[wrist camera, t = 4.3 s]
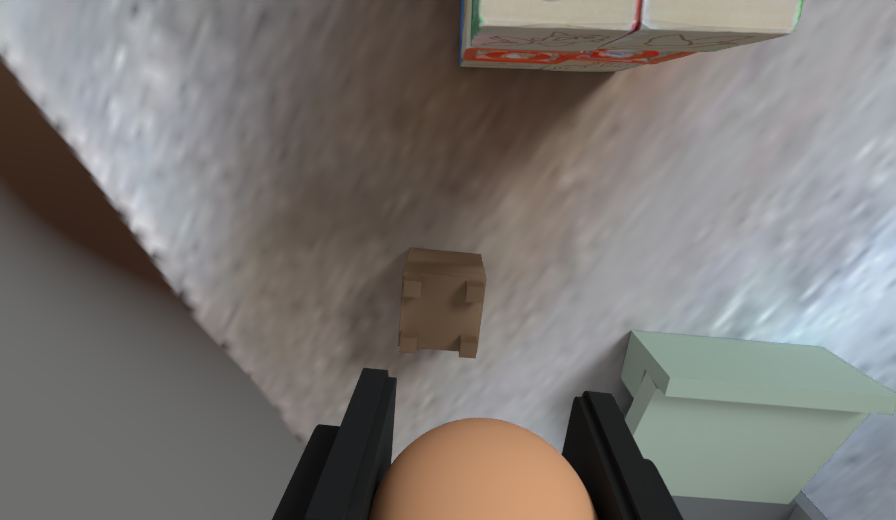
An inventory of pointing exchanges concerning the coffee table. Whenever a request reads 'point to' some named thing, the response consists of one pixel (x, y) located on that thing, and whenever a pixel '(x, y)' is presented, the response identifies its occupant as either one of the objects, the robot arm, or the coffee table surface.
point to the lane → (746, 509)
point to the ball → (481, 477)
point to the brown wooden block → (441, 301)
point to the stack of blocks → (612, 31)
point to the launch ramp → (742, 412)
